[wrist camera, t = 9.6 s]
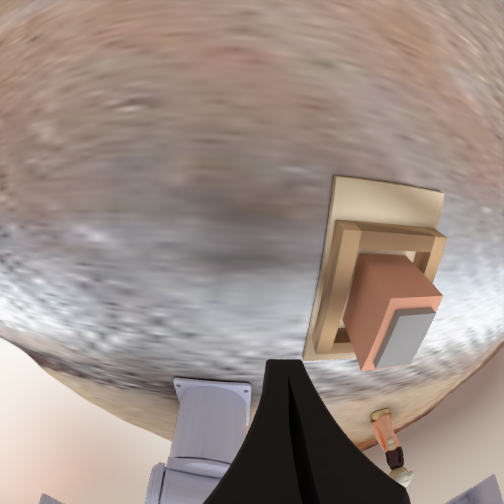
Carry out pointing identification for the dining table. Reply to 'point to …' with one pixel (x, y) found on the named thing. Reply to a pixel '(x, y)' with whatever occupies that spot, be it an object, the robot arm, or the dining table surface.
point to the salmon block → (388, 310)
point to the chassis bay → (368, 249)
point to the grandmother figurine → (390, 446)
